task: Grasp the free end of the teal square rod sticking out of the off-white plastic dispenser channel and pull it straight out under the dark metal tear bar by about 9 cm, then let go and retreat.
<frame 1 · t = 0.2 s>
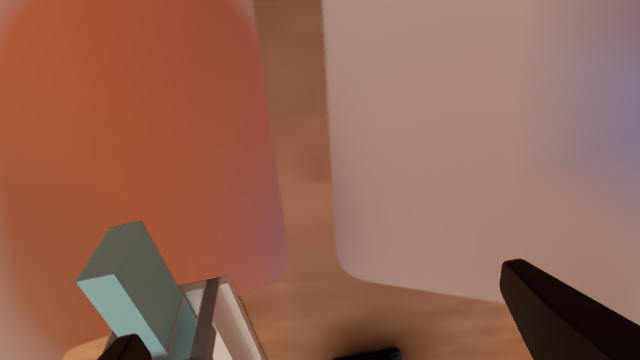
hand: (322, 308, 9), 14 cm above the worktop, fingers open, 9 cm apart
teal square rod: (167, 335, 25), point 3 cm above the worktop, slide at 0.0 cm
dispenser: (201, 335, 30), on the worktop
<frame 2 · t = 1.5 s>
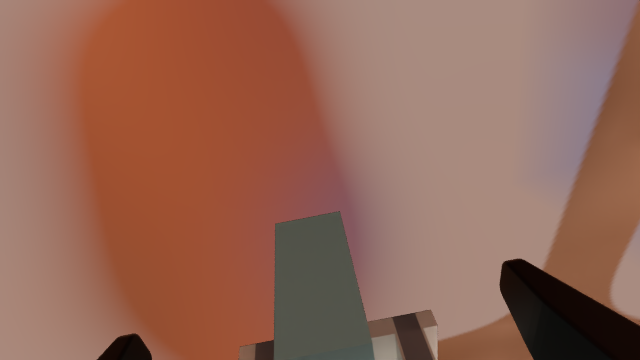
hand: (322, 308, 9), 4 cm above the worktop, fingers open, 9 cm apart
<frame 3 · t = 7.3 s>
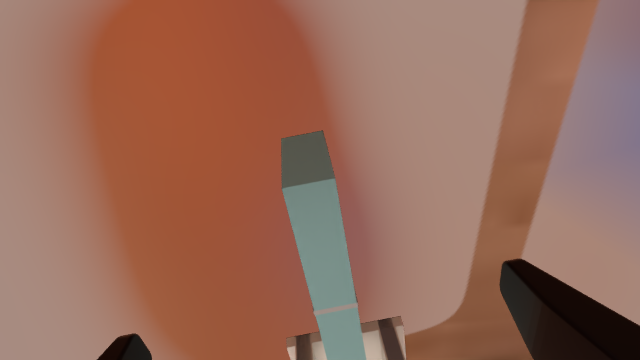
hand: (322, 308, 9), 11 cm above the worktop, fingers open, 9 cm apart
teal square rod: (333, 287, 19), point 3 cm above the worktop, slide at 8.9 cm
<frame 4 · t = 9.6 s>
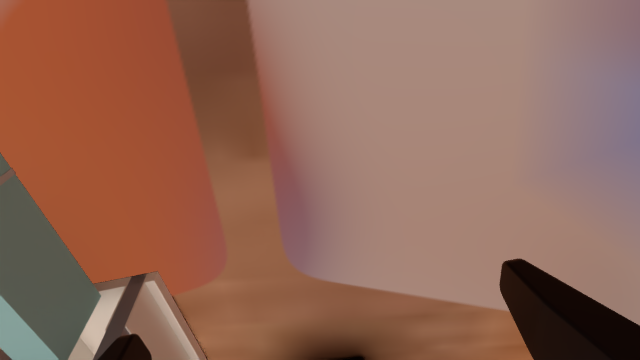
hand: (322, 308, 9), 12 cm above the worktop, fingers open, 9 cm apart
dispenser: (133, 341, 26), on the worktop
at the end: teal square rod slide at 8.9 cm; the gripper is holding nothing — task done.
